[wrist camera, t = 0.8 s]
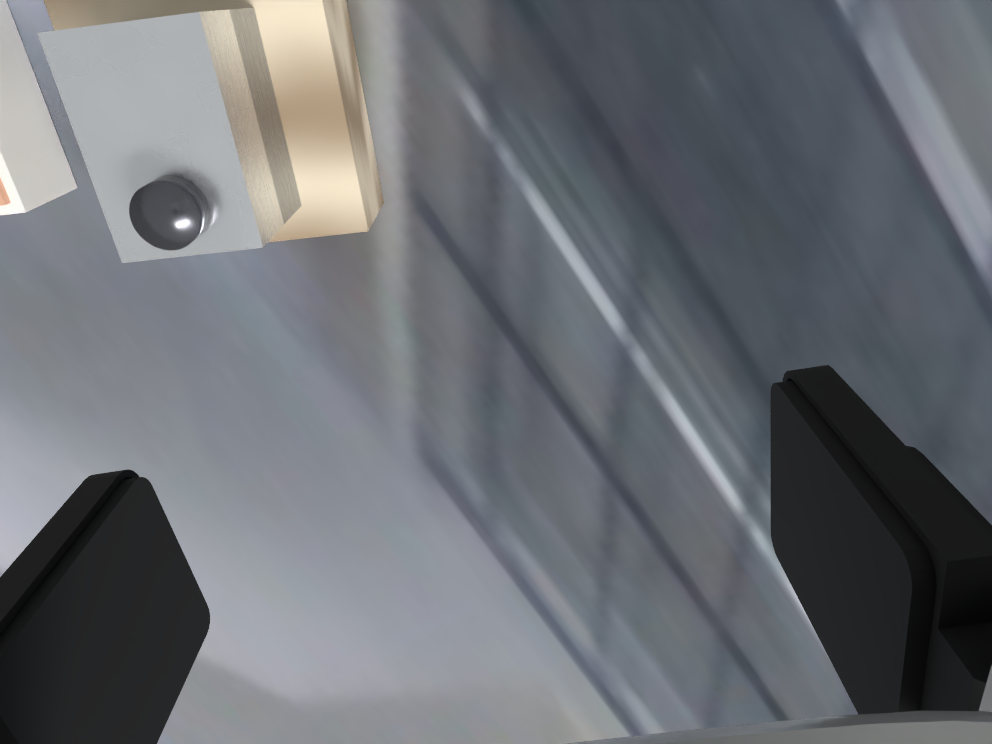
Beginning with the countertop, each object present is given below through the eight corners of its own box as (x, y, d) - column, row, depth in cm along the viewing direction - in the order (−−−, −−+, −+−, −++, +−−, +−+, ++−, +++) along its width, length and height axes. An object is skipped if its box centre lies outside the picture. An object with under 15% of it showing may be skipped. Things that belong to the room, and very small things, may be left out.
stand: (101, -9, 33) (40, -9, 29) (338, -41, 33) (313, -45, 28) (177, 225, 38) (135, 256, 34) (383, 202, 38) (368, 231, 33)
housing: (120, 24, 29) (15, 34, 23) (254, 7, 29) (184, 12, 23) (182, 218, 33) (107, 273, 27) (301, 205, 33) (253, 258, 26)
